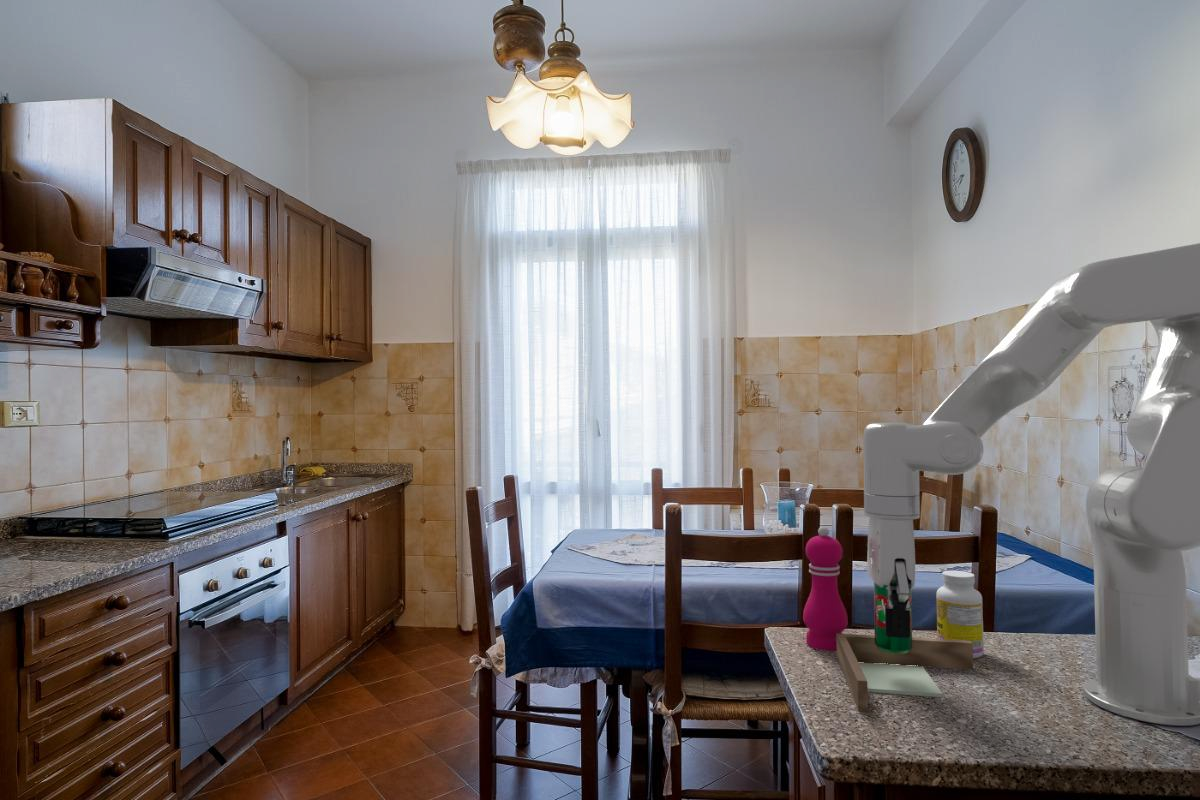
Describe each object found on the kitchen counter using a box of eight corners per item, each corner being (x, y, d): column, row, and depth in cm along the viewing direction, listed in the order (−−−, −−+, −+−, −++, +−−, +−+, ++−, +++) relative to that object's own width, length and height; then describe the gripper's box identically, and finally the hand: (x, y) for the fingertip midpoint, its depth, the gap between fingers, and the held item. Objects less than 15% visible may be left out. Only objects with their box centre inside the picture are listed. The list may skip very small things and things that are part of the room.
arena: (970, 666, 101) (969, 640, 101) (1023, 723, 82) (1022, 691, 83) (836, 658, 105) (836, 633, 105) (858, 711, 86) (857, 680, 87)
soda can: (907, 644, 98) (906, 563, 99) (916, 656, 94) (915, 571, 94) (871, 641, 100) (870, 562, 100) (878, 653, 95) (877, 570, 95)
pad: (922, 669, 100) (922, 666, 100) (942, 697, 90) (942, 693, 90) (853, 665, 102) (853, 662, 102) (865, 691, 92) (865, 688, 93)
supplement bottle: (941, 642, 112) (939, 567, 112) (986, 650, 108) (983, 572, 108) (934, 654, 107) (932, 574, 107) (981, 663, 103) (979, 580, 103)
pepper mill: (796, 638, 115) (794, 523, 115) (836, 636, 116) (833, 522, 116) (814, 653, 108) (812, 530, 108) (856, 651, 108) (853, 529, 109)
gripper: (854, 498, 106) (855, 611, 106) (876, 513, 89) (877, 648, 89) (904, 499, 105) (905, 614, 104) (935, 515, 88) (937, 652, 87)
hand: (892, 628), depth 97 cm, fingers closed on soda can, 5 cm apart
